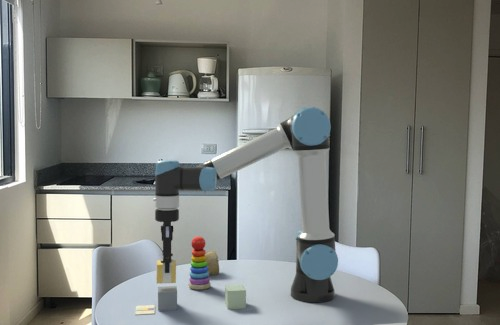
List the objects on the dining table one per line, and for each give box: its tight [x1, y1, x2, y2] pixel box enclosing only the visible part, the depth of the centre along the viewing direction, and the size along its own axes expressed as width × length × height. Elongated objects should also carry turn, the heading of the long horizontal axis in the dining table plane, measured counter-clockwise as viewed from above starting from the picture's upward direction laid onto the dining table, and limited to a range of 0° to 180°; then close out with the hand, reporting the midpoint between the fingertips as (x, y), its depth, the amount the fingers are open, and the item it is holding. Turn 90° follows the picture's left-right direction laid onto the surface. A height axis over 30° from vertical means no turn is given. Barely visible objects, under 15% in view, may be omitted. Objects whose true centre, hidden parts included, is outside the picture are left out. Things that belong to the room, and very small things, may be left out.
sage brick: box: [224, 284, 247, 310], centre depth 173 cm, size 6×6×6 cm
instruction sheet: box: [134, 304, 156, 316], centre depth 168 cm, size 6×8×1 cm
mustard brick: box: [155, 259, 177, 284], centre depth 170 cm, size 6×6×6 cm
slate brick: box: [157, 285, 178, 311], centre depth 171 cm, size 6×6×6 cm
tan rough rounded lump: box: [205, 250, 220, 276], centre depth 210 cm, size 10×10×10 cm
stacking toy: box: [188, 236, 211, 291], centre depth 192 cm, size 8×8×19 cm
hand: (166, 279), depth 170 cm, fingers closed on mustard brick, 6 cm apart
